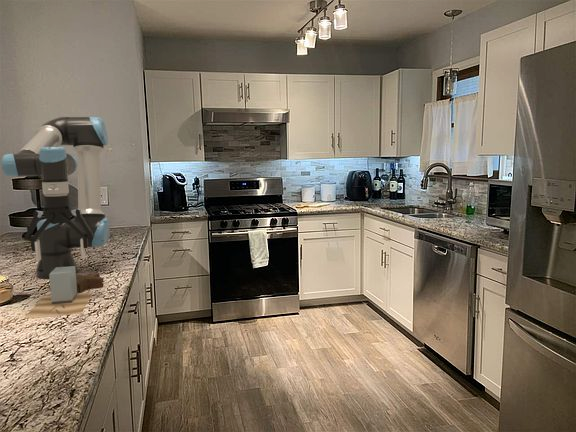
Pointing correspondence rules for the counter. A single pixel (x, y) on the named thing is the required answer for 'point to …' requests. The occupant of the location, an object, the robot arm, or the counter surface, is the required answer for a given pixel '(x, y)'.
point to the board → (59, 307)
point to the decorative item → (88, 282)
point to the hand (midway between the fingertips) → (61, 259)
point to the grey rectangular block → (63, 285)
